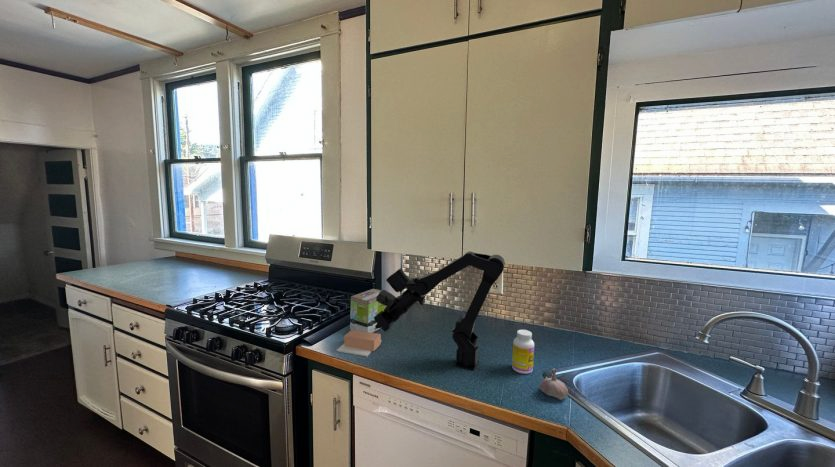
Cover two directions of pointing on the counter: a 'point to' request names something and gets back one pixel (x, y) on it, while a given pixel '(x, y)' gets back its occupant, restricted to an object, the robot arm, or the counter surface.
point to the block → (362, 340)
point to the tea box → (365, 311)
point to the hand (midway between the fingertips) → (376, 327)
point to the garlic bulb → (554, 387)
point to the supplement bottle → (523, 352)
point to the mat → (354, 350)
